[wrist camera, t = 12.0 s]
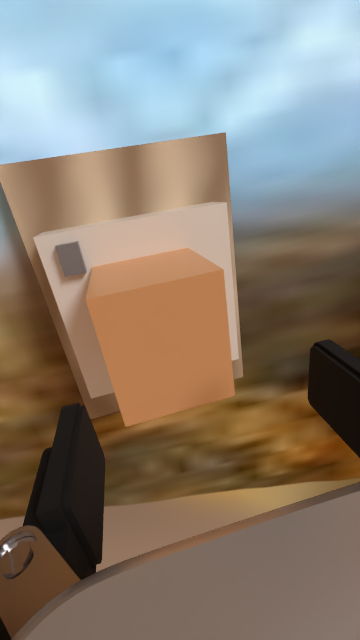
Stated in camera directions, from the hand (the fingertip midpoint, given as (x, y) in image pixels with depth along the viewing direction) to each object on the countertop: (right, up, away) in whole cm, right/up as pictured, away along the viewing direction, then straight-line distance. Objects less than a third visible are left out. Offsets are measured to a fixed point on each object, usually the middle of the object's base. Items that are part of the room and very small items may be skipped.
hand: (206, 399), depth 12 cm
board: (-4, +6, +15) cm, 16 cm away
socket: (-4, +5, +13) cm, 14 cm away
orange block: (-4, +5, +12) cm, 13 cm away
